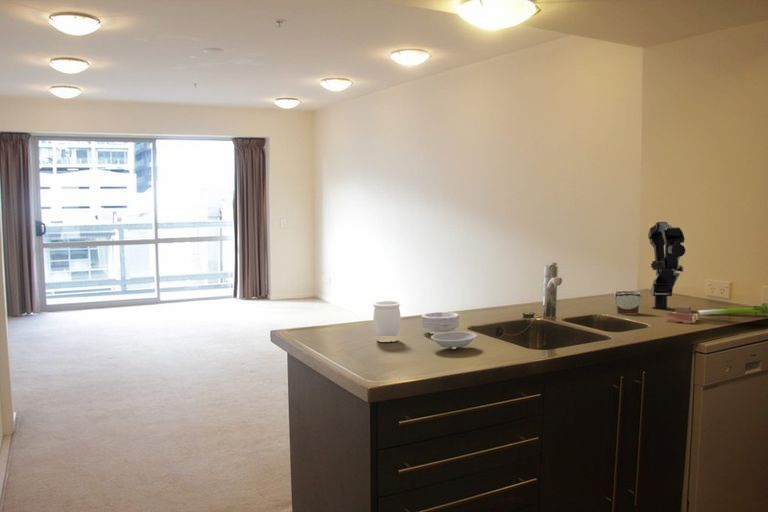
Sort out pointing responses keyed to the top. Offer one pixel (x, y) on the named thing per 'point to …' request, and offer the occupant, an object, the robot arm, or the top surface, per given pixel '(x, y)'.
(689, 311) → the block
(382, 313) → the jar
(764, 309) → the leek
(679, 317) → the channel
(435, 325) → the paper bowls
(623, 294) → the food container
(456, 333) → the dish
